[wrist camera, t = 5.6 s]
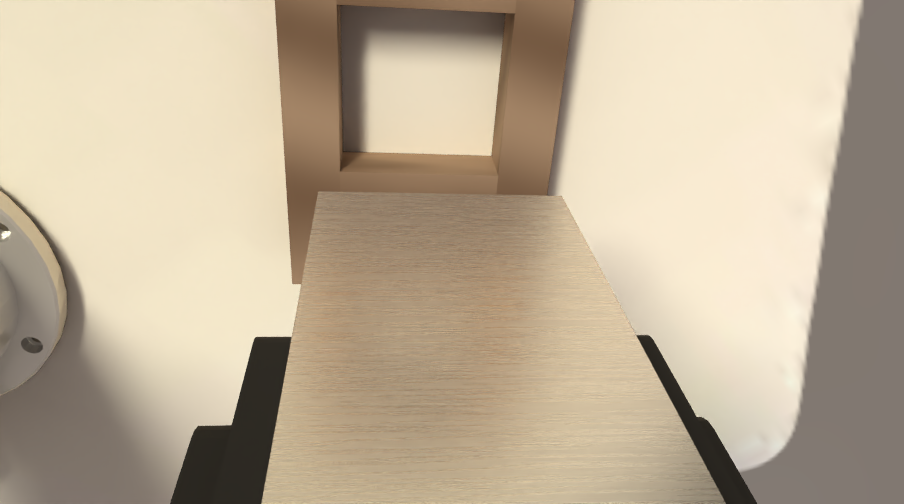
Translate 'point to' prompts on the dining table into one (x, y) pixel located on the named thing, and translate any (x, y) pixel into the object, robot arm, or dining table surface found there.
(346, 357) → the square peg
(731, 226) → the dining table surface
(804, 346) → the dining table surface
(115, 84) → the dining table surface
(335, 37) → the board
